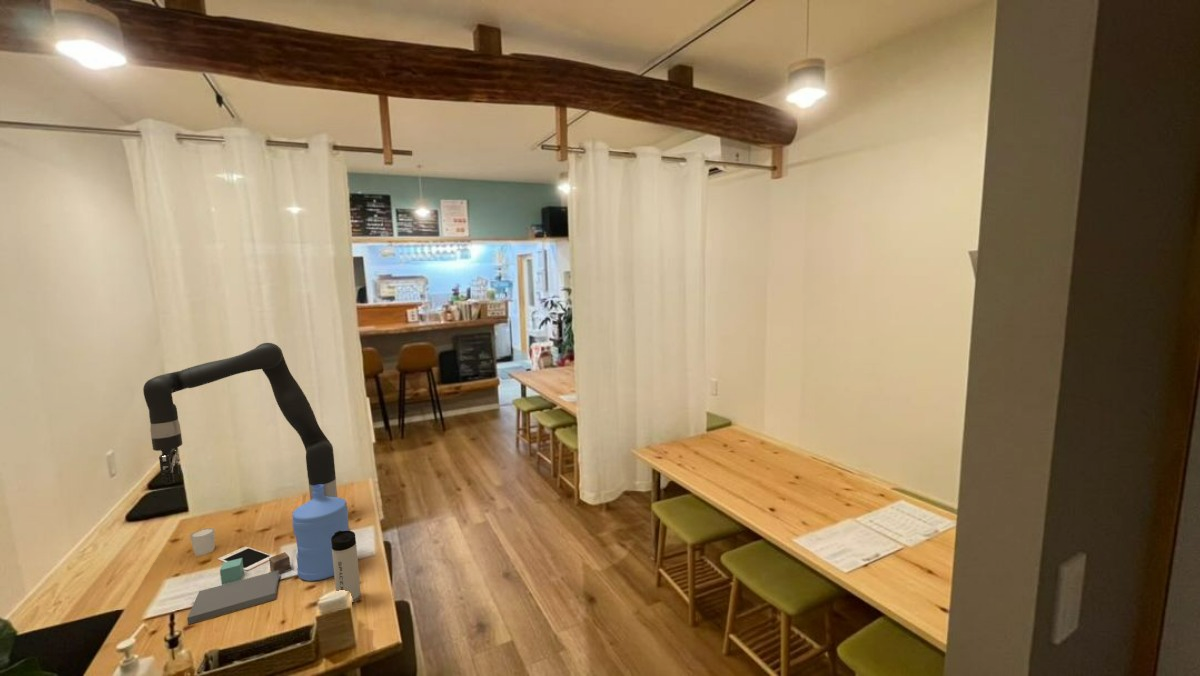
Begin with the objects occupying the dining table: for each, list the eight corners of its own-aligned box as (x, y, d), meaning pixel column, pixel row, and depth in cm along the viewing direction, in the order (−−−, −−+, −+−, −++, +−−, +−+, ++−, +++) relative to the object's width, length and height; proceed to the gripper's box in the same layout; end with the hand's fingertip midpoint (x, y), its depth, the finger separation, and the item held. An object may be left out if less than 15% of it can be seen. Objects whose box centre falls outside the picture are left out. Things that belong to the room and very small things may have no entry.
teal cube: (243, 572, 156) (242, 557, 156) (241, 579, 152) (239, 565, 151) (224, 577, 154) (223, 562, 153) (221, 585, 149) (220, 570, 149)
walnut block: (286, 564, 160) (284, 552, 159) (290, 569, 157) (289, 556, 156) (270, 571, 156) (269, 558, 156) (274, 575, 153) (273, 562, 153)
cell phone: (245, 548, 172) (245, 545, 172) (275, 559, 164) (275, 556, 164) (217, 561, 164) (217, 558, 164) (247, 572, 156) (246, 570, 156)
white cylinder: (202, 557, 166) (200, 538, 166) (186, 555, 168) (184, 536, 167) (221, 547, 173) (219, 528, 172) (206, 545, 174) (204, 527, 174)
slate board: (279, 575, 153) (278, 570, 153) (275, 599, 141) (274, 593, 141) (200, 597, 143) (199, 591, 143) (188, 624, 131) (187, 617, 131)
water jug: (363, 558, 162) (356, 479, 159) (322, 585, 147) (314, 498, 144) (328, 552, 167) (321, 474, 164) (286, 577, 152) (277, 493, 149)
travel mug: (353, 589, 144) (347, 526, 142) (365, 597, 140) (359, 532, 139) (332, 601, 139) (326, 536, 137) (343, 609, 135) (337, 542, 134)
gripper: (176, 436, 158) (182, 483, 160) (184, 427, 170) (190, 471, 172) (145, 441, 154) (152, 489, 156) (156, 431, 166) (162, 476, 168)
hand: (172, 480), depth 164 cm, fingers open, 8 cm apart
